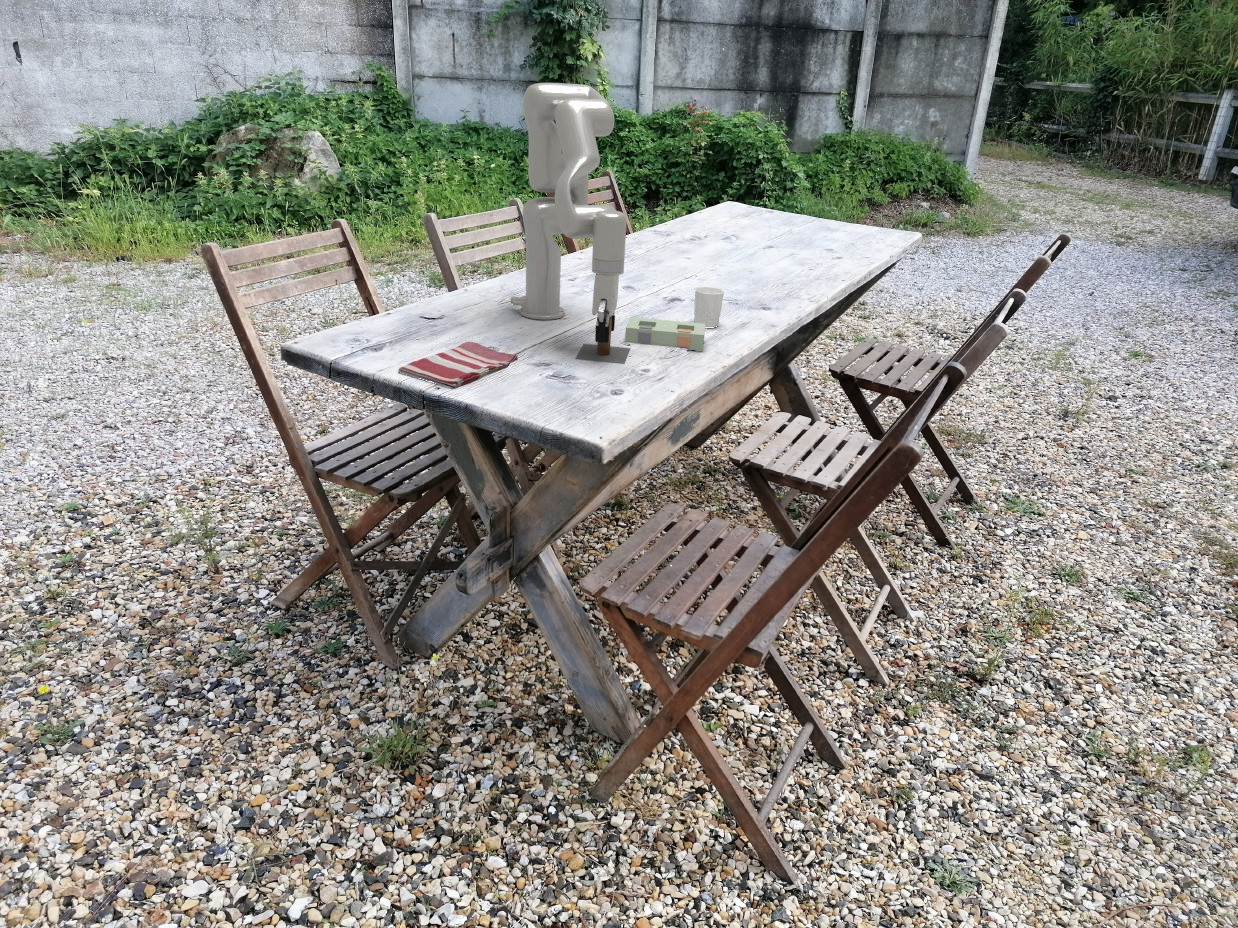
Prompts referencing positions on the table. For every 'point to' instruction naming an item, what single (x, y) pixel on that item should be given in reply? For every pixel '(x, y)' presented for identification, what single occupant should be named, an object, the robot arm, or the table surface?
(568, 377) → the table surface
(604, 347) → the dowel
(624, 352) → the mat
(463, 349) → the dish towel
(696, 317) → the white cup
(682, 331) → the socket block
